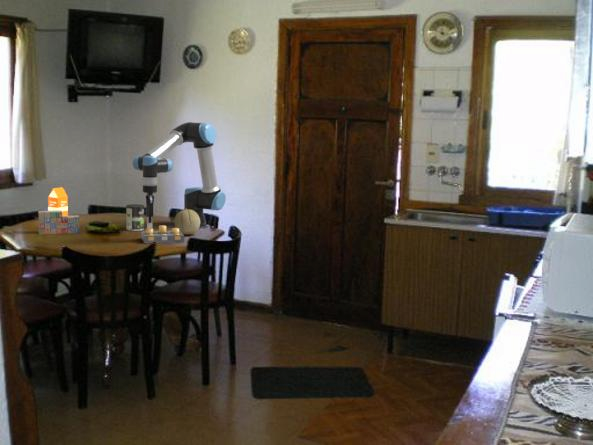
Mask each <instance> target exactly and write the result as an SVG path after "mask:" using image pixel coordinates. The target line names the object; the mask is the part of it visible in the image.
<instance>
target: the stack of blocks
mask: <svg viewBox="0 0 593 445" xmlns="http://www.w3.org/2000/svg"><path fill="white" fill-rule="evenodd" d="M38 234H39V235H47V234H48V235H53V234H55V235H56V234H60V235H61V234H63V235H64V234H66V235H67V234H80V215H68V216H62V210H52V211H48V210H38Z"/></svg>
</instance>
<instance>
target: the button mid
mask: <svg viewBox="0 0 593 445" xmlns="http://www.w3.org/2000/svg"><path fill="white" fill-rule="evenodd" d="M158 231H159V234H166V231H167V225H164V224H163V225H158Z"/></svg>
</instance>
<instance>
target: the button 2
mask: <svg viewBox="0 0 593 445" xmlns="http://www.w3.org/2000/svg"><path fill="white" fill-rule="evenodd" d="M171 231H172V234H179V228H176V227H172V228H171Z"/></svg>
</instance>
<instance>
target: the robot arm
mask: <svg viewBox="0 0 593 445" xmlns="http://www.w3.org/2000/svg"><path fill="white" fill-rule="evenodd" d="M216 140H217V131H216V129H215V127H214V125H212V124H211V123H206V122H192V121H191V122H190V121H188V122H184V123H182V124H180V125H177V126H176V127H175V128H173V129H172V130H171V131H170V132H169V134H168V135H167V136H166V137H164V139H162V140H161V141H159V142H158V143H157V144H156V145H155V146H154V147H152V148H151V149H149V151H147V152H146V153H145V154H143V155H142V156H135V157H134V158H133V160H132V166H133V169H134V170H137V171H140V172H142V178H141V181H142V193H145V194H146V195H145V205H146V206H145V208H146V210H145V211H146V212H145V213H146V215H145V217H146V229H153V216H154V204H155V203H154V202H155V196H154V194H155V193H157V192H158V186H157V185H158V174H160V173H161V174H164V173H165V174H166V173H169V172H171V171H172V169H173V168H174V167H173V162H172V160H171V159H170V158H164V157H165V156H167V154H169V153H170V152H171V151H173V149H175V148H176V147H177V146H182V145H183V144H184V143H193V148H194V149H195V150H196V151H197V152H196V153H197V157H198V165H199V170H200V176H201V183H202V186H195V187H186V188H185V189H184V194H183V202H184V205H183V206H184V208H186V209H189V210H193V211H195V212H196V213H197V214H198V216H199V218H200V227H203V226H206V225H207V219H206V217H205V214H204V210H209V211H220V210H222V209H223V208H224V206H225V203H226V201H227V199H226V198H227V196H226V194H225V192H224V191H221V187H220V186H219V185H218V182H217V175H216V169H215V162H214V156H213V148H212V147H213V146H214V144H215V142H216ZM184 208H183V210H185V209H184Z"/></svg>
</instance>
